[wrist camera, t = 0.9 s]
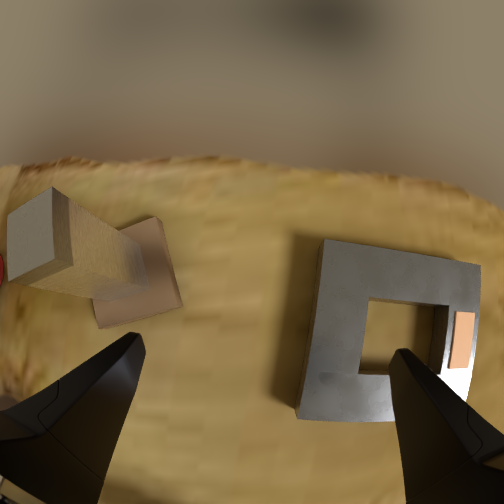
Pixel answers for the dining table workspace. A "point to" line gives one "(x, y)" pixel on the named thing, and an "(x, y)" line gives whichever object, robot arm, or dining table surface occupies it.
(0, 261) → the smoothie
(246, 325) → the dining table surface
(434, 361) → the flange plate
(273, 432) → the dining table surface
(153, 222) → the pad
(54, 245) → the grey square peg
